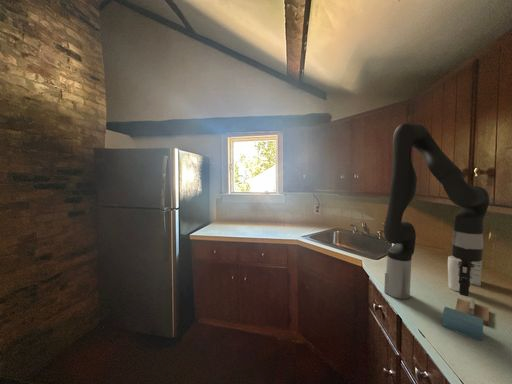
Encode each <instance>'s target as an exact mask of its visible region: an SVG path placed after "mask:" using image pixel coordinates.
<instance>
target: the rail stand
mask: <svg viewBox="0 0 512 384" xmlns="http://www.w3.org/2000/svg"><path fill="white" fill-rule="evenodd" d="M475 301H476V299H475V298H474V297H470V301H467V300H465V299H461V298H457V300H456V304H455V305H456V306H455V309H454V310H457V311H460V312H463V313H466V314H469V315H473V316H476V317H479V318H482V319H483V325H485V326H489V324H490V323H489V322H490V321H489V318H490V317H489V316H490V314H489V313H490V311H489V307H488V306H485V305H482V304H479V303H476V302H475Z"/></svg>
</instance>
